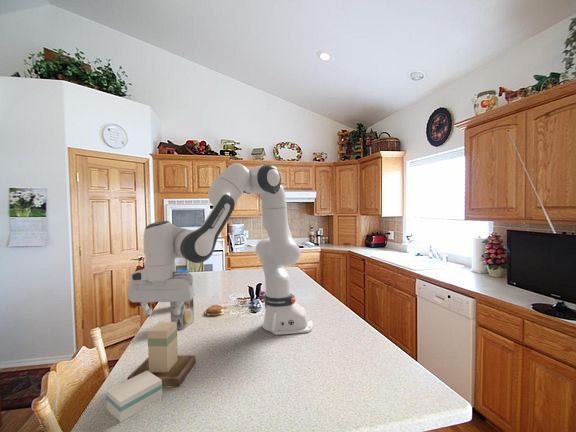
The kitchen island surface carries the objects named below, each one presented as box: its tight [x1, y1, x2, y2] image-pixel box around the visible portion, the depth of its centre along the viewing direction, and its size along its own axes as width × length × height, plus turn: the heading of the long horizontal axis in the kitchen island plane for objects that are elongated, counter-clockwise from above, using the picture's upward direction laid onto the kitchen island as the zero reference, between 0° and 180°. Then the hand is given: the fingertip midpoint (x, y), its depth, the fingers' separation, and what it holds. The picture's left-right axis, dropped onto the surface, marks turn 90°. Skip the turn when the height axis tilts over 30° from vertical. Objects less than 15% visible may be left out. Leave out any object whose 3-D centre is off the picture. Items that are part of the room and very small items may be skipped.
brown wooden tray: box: [126, 354, 197, 387], centre depth 91 cm, size 16×13×2 cm
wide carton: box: [105, 371, 163, 423], centre depth 77 cm, size 11×8×6 cm
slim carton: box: [147, 321, 179, 372], centre depth 91 cm, size 6×7×13 cm
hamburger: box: [203, 304, 228, 317], centre depth 144 cm, size 14×14×6 cm
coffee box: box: [169, 297, 195, 330], centre depth 128 cm, size 9×6×16 cm
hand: (162, 314), depth 91 cm, fingers open, 8 cm apart
